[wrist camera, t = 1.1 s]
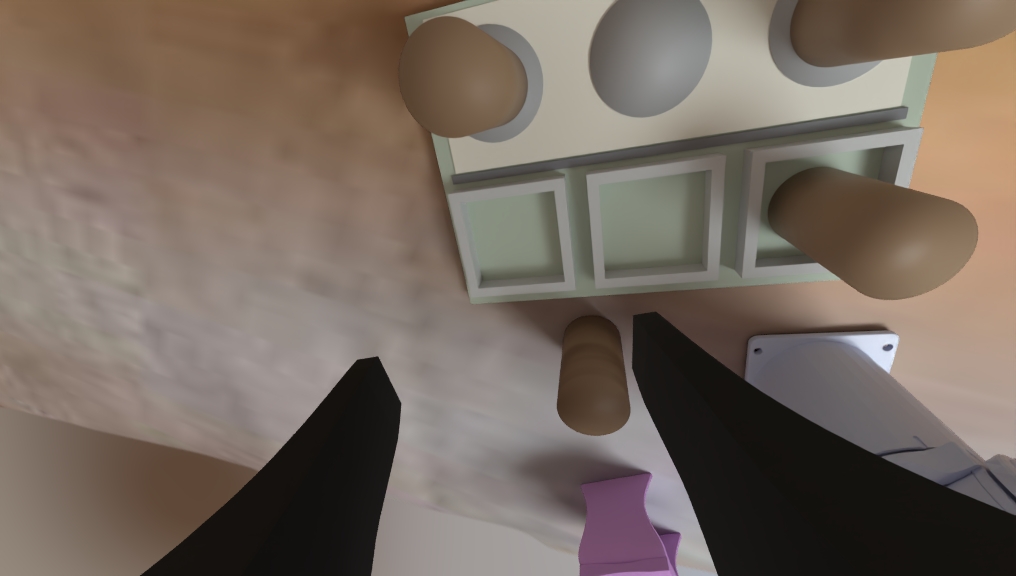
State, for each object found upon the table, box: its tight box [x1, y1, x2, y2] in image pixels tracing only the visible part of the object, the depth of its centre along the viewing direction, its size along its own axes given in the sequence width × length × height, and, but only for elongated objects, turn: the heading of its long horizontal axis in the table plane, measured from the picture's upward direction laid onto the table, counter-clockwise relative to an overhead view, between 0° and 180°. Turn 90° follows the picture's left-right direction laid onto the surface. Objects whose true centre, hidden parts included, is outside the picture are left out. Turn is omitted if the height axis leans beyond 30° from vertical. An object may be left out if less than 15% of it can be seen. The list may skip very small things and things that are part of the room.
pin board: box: [399, 0, 1016, 304], centre depth 18 cm, size 17×24×8 cm
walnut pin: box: [557, 315, 630, 436], centre depth 24 cm, size 4×4×7 cm
